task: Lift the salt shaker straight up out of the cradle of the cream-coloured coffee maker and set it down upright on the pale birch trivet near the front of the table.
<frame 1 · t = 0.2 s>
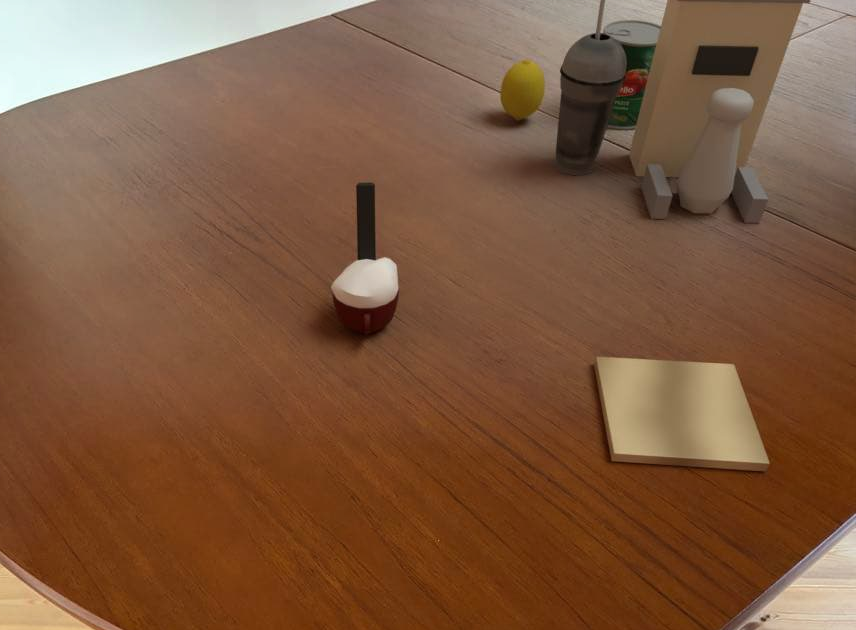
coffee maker: (695, 197, 98), on the table
trivet: (674, 414, 73), on the table
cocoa: (366, 320, 84), on the table
beverage cup: (573, 167, 104), on the table
salt shaker: (697, 206, 97), on the table
canned tomato: (616, 117, 114), on the table
lemon: (518, 121, 114), on the table
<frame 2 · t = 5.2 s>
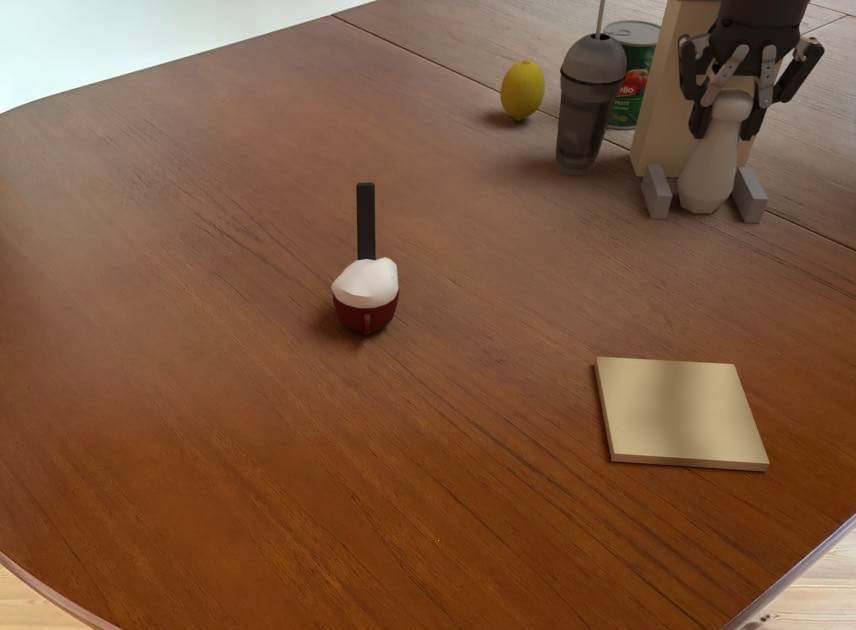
hand: (720, 136, 92), 8 cm above the table, tool pointing down, fingers closed on salt shaker, 4 cm apart
salt shaker: (697, 206, 97), on the table, touching gripper
everything else where it was.
when the fingers open (9 cm above the table, at t = 13.8 s): salt shaker stays where it is, resting on trivet.
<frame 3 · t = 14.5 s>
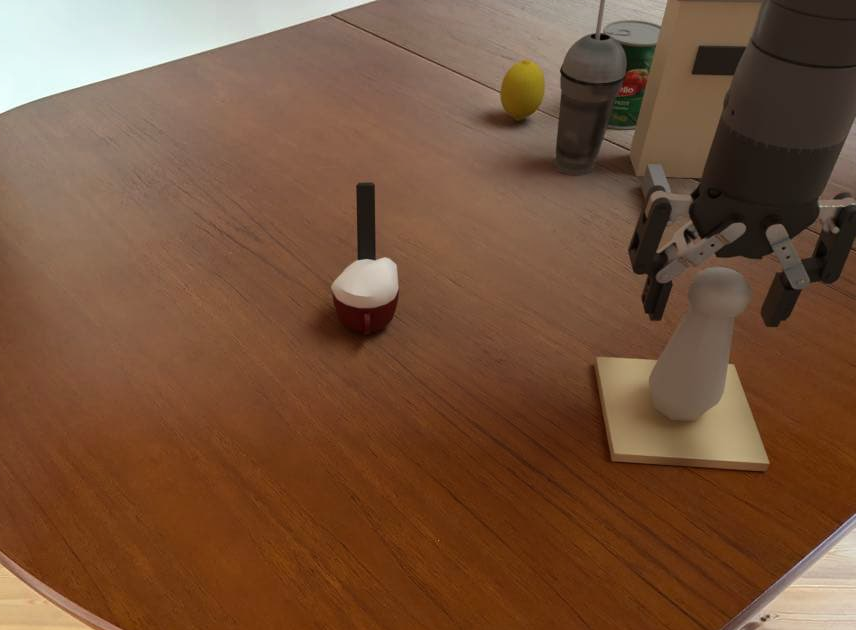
hand: (710, 317, 66), 10 cm above the table, tool pointing down, fingers open, 8 cm apart
salt shaker: (677, 406, 73), point 1 cm above the table, touching trivet
everything else where it was.
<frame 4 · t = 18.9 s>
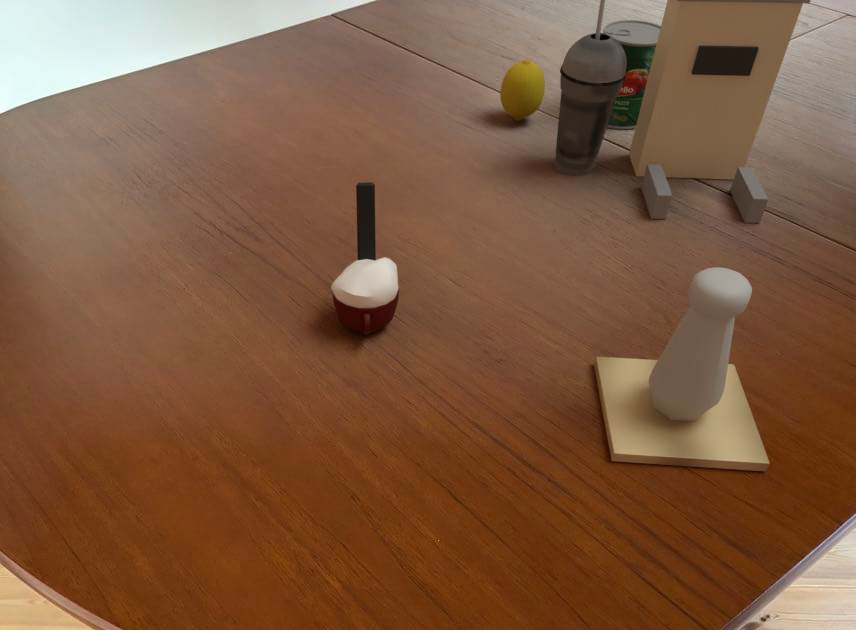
nothing on the table moved.
at the end: salt shaker inside the target area on the trivet (0.1 cm from its centre), point 0.8 cm above the trivet's base; salt shaker tilted 0°; salt shaker touching trivet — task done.
